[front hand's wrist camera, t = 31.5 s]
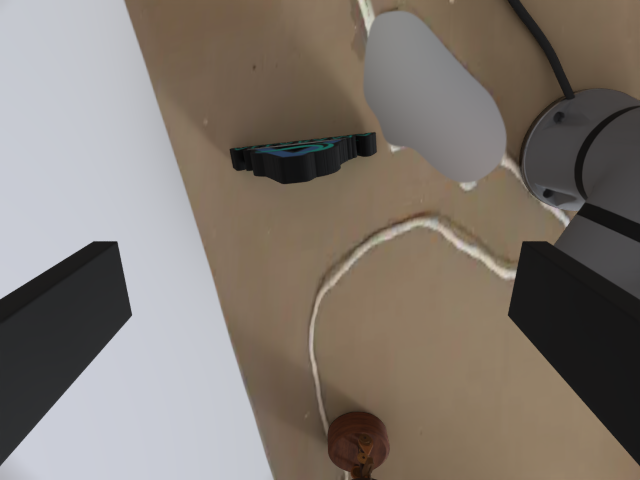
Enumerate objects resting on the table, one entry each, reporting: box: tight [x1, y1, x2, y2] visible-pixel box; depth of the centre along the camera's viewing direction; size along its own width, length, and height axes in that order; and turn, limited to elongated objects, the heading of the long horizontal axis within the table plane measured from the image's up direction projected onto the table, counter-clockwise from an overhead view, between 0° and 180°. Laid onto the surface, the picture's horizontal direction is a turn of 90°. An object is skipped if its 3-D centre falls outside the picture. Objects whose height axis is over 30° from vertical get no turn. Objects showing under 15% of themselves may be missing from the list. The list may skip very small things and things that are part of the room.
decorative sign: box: [230, 132, 377, 184], centre depth 42 cm, size 19×2×15 cm, turn 96°
